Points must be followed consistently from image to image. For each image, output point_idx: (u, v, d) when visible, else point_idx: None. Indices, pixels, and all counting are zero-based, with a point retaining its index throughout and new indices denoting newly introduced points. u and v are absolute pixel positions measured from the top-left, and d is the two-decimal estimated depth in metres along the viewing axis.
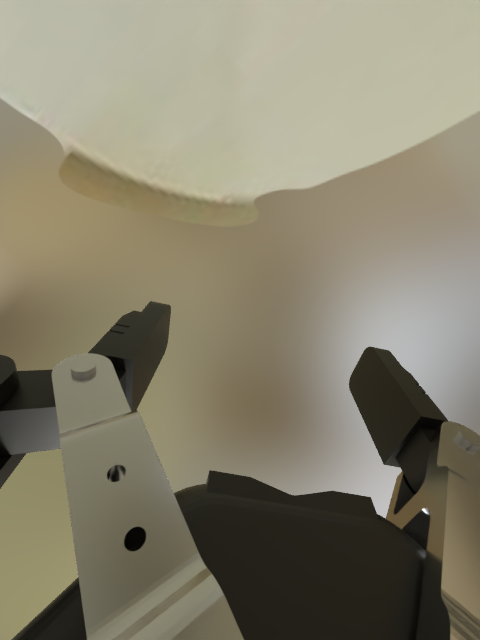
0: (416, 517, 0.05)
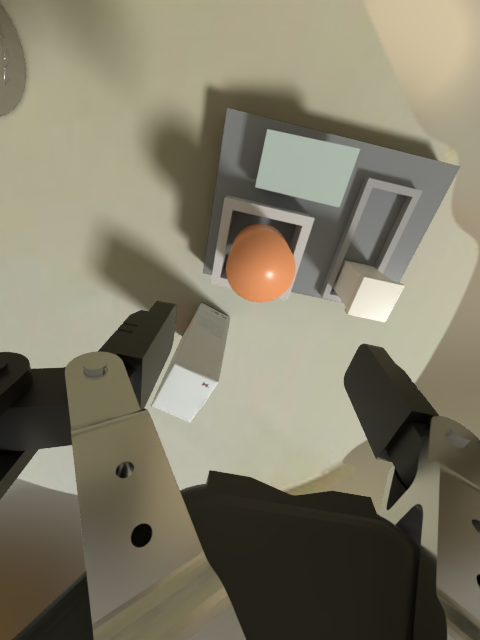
0: (409, 513, 0.05)
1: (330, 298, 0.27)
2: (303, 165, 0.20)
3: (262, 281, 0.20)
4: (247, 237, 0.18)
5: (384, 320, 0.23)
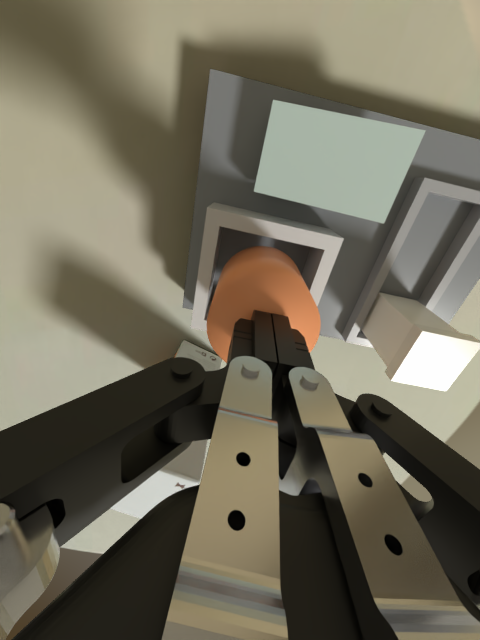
0: (304, 485, 0.05)
1: (356, 342, 0.20)
2: (329, 158, 0.13)
3: None
4: (241, 278, 0.11)
5: (445, 389, 0.15)
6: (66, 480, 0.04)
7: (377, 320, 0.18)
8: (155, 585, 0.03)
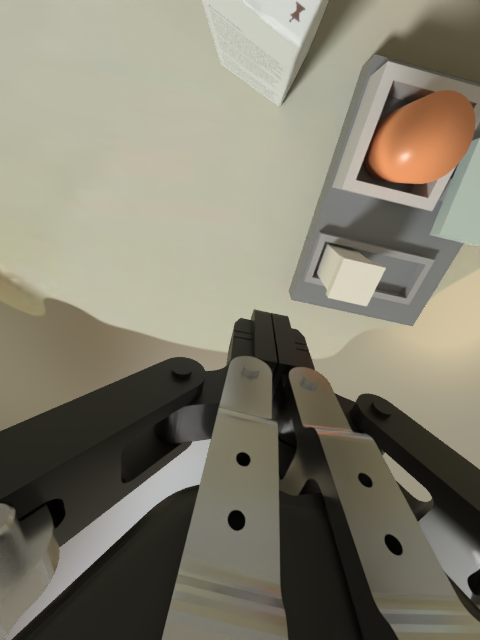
0: (304, 486, 0.05)
1: (319, 243, 0.25)
2: None
3: (417, 143, 0.17)
4: (472, 122, 0.17)
5: (330, 296, 0.22)
6: (66, 480, 0.04)
7: (347, 251, 0.24)
8: (155, 585, 0.03)
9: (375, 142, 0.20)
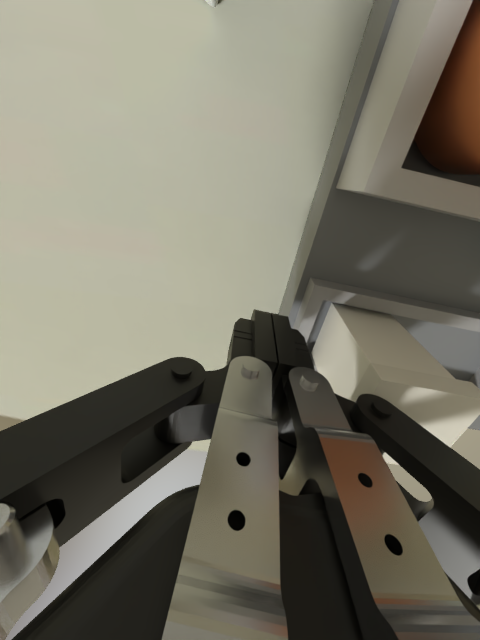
0: (305, 485, 0.05)
1: (311, 302, 0.12)
2: None
3: None
4: None
5: None
6: (66, 480, 0.04)
7: (375, 325, 0.11)
8: (155, 585, 0.03)
9: (461, 59, 0.07)
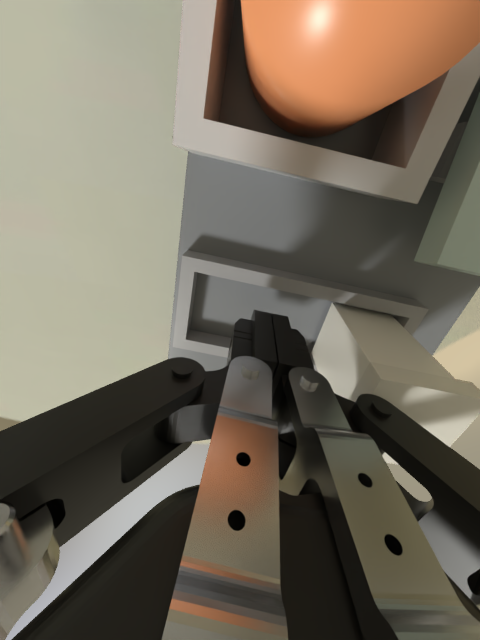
0: (304, 486, 0.05)
1: (183, 275, 0.12)
2: None
3: None
4: None
5: None
6: (66, 480, 0.04)
7: (376, 325, 0.11)
8: (155, 585, 0.03)
9: None
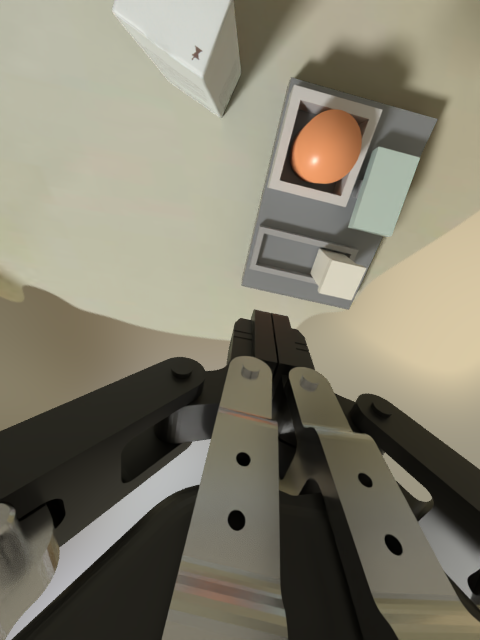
0: (304, 485, 0.05)
1: (259, 234, 0.29)
2: (388, 192, 0.25)
3: (318, 150, 0.21)
4: None
5: (321, 292, 0.26)
6: (66, 480, 0.04)
7: (336, 255, 0.29)
8: (155, 585, 0.03)
9: (293, 149, 0.24)
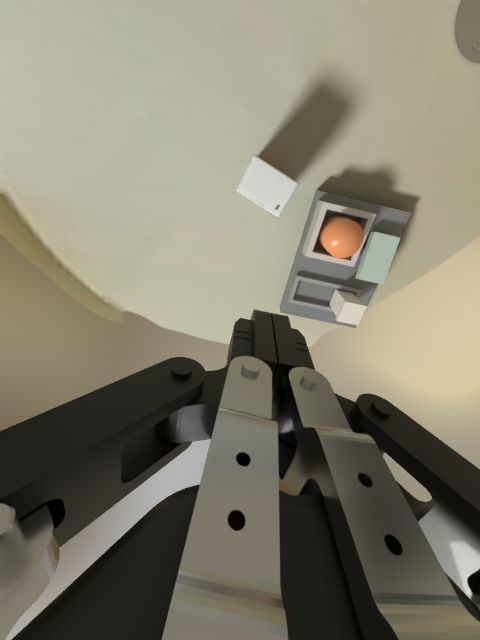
0: (304, 485, 0.05)
1: (295, 281, 0.44)
2: (380, 258, 0.39)
3: (337, 240, 0.36)
4: (362, 232, 0.35)
5: (338, 320, 0.41)
6: (66, 480, 0.04)
7: (347, 294, 0.43)
8: (155, 585, 0.03)
9: (321, 234, 0.38)
